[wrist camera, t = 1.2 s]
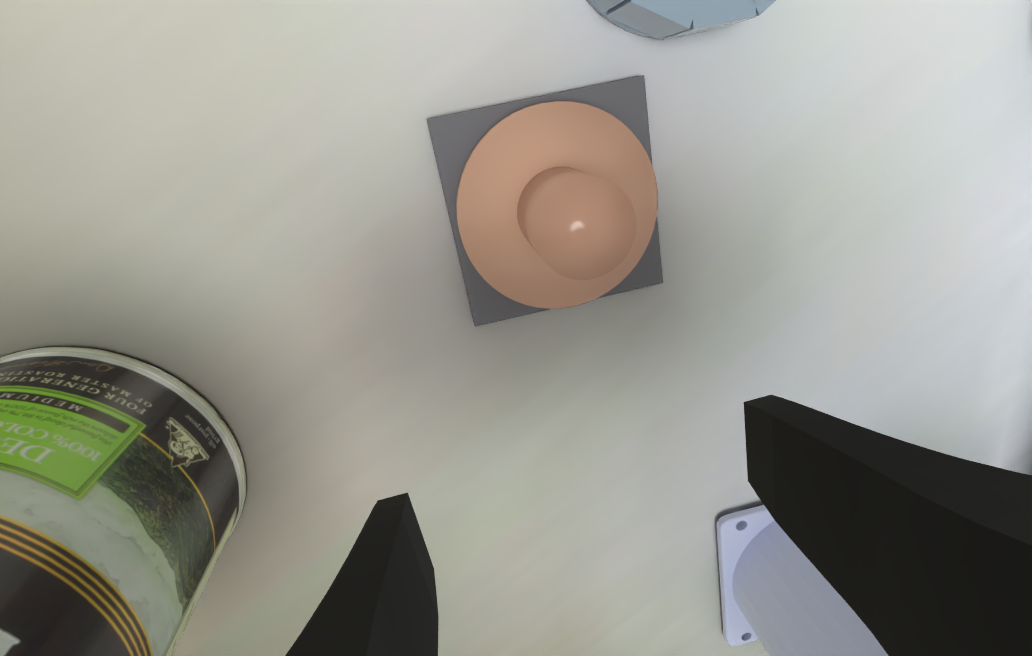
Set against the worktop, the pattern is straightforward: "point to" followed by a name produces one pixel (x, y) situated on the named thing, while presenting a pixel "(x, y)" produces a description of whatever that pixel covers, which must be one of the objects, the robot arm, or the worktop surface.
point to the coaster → (467, 128)
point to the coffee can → (107, 503)
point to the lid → (556, 204)
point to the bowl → (676, 15)
